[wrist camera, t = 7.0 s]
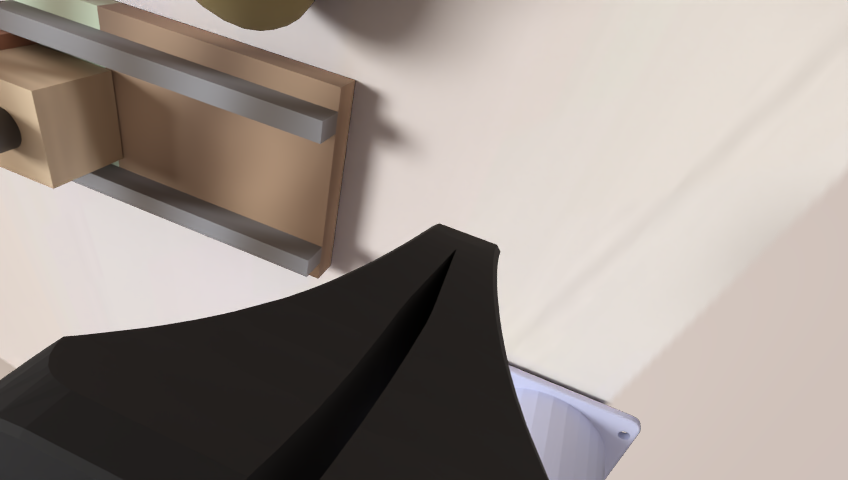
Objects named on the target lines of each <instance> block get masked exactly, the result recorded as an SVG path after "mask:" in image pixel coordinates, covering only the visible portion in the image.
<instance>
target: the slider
mask: <svg viewBox="0 0 848 480" xmlns="http://www.w3.org/2000/svg"><path fill="white" fill-rule="evenodd" d="M121 159H123V153H122V146H121V138H120V131H119V124H118V116H117V109H116V101H115V94H114V86H113V79H112V72H111V70H108V69H106V68H103V67H100V66H97V65H94V64H92V63H89V62H86V61H83V60H80V59H78V58H75V57H72V56H69V55H66V54H64V53H61V52H58V51H55V50H53V49H50V48H47V47H44V46H41V45H39V44H33V45H27V46H22V47H16V48H10V49H5V50H0V167H2V168H5V169H7V170H10V171H12V172H15V173H17V174H19V175H22V176H24V177H27V178H29V179H31V180H34V181H36V182H39V183H41V184H43V185H46V186H48V187H51V188H53V189H54V188H56V187H58V186H61V185H63V184H65V183H68V182H70V181H72V180H75V179H77V178H79V177H82V176H84V175H86V174H88V173H91V172H93V171H95V170H98V169H100V168H102V167H105V166H107V165H109V164H111V163H114V162H116V161H118V160H121Z"/></svg>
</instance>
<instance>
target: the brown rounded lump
mask: <svg viewBox="0 0 848 480" xmlns="http://www.w3.org/2000/svg"><path fill="white" fill-rule="evenodd" d="M196 1H197V2H198V3H200V4H201V5H202V6H203V7H204V8H206V9H207V10H209V11H210V12H212V13H214V14H215V15H217V16H218V17H220V18H221V19H223V20H224V21H227V22H229V23H232V24H234V25H236V26H239V27H241V28H244V29H250V30H258V31H265V30H274V29H277V28H281V27H284V26H287V25H289V24H291V23H293V22H294V21H296V20H298V19H300V17H301V16H302V15H303V14H304V13H305V12H306V11H307V9H308V8H309V7H310V6H311V5H312V3H313V2H314V1H315V0H196Z"/></svg>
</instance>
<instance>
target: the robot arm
mask: <svg viewBox="0 0 848 480" xmlns="http://www.w3.org/2000/svg"><path fill="white" fill-rule="evenodd" d="M499 254H500V250H499V248H498V246H497V245H496V244H493V243H491V242H488V241H485V240H482V239H480V238H477V237H474V236H472V235H469V234H466V233H464V232H461V231H458V230H455V229H453V228H450V227H447V226H445V225H442V224H437V225H434V226H432V227H431V228H429V229H428V230H426V231H424V232H423V233H421V234H420V235H418V236H416V237H415V238H413V239H412V240H410V241H408V242H406V243H405V244H403V245H401V246H400V247H398V248H396V249H394V250H393V251H391V252H389V253H387V254H385V255H383V256H382V257H380V258H378V259H376V260H374V261H372V262H370V263H368V264H366V265H364V266H362V267H360V268H358V269H356V270H354V271H352V272H349V273H347V274H345V275H343V276H341V277H339V278H337V279H334V280H332V281H329V282H327V283H325V284H322V285H320V286H317V287H315V288H312V289H309V290H306V291H304V292H301V293H298V294H295V295H292V296H289V297H286V298H283V299H279V300H276V301H272V302H268V303H265V304H261V305H257V306H253V307H250V308H246V309H242V310H238V311H235V312H230V313H226V314H221V315H217V316H212V317H207V318H202V319H197V320H191V321H185V322H180V323H174V324H168V325H162V326H155V327H148V328H140V329H131V330H123V331H114V332H105V333H96V334H88V335H78V336H66V337H62V338H61V339H59V340H58V341H56V342H55V343H53V344H51V345H50V346H48V347H47V348H46V349H44V350H43V351H41V352H40V353H38V354H37V355H35V356H34V357H32V358H31V359H29V360H28V361H27V362H25V363H24V364H22V365H21V366H20V367H18V368H17V369H15V370H14V371H12V372H11V373H10V374H8V375H7V376H6V377H4V378H2V379H1V380H0V480H605V479H606V478H607V476H608V475H609V473H610V472H611V471H612V469H613V468H614V467H615V465H616V464H617V462H618V461H619V460H620V458H621V457H622V456H623V454H624V453H625V452H626V450H627V449H628V448H629V446H630V445H631V444H632V442H633V441H634V439H635V438H636V437H637V435H638V434H639V433H640V429H641V426H640V421H639V420H638V419H637V418H636V417H634V416H632V415H629V414H627V413H624V412H622V411H620V410H617V409H615V408H612V407H610V406H607V405H605V404H603V403H600V402H598V401H595V400H593V399H590V398H588V397H585V396H583V395H581V394H578V393H576V392H573V391H571V390H568V389H566V388H563V387H561V386H559V385H556V384H554V383H551V382H549V381H546V380H544V379H542V378H539V377H537V376H534V375H532V374H529V373H527V372H524V371H522V370H520V369H517V368H515V367H512V366H510V365H508V360H507V356H506V351H505V346H504V341H503V336H502V330H501V323H500V315H499V305H498V295H497V266H498V258H499ZM621 431H624V432H627V433H623V432H621Z"/></svg>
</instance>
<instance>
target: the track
mask: <svg viewBox="0 0 848 480" xmlns="http://www.w3.org/2000/svg"><path fill="white" fill-rule="evenodd" d="M33 44H39V45H41V46H44V47H47V48H50V49H53V50H55V51H58V52H61V53H64V54H66V55H69V56H72V57H75V58H78V59H80V60H83V61H86V62H89V63H92V64H94V65H97V66H100V67H103V68H106V69H108V70H111V72H112V79H113V86H114V94H115V101H116V109H117V116H118V124H119V131H120V138H121V146H122V153H123V159H121V160H118V161H116V162H114V163H111V164H109V165H107V166H105V167H102V168H100V169H98V170H95V171H93V172H91V173H88V174H86V175H84V176H82V177H79V178H77V179H75V180H72V181H73V182H76V183H78V184H80V185H83V186H85V187H88V188H90V189H93V190H95V191H98V192H100V193H103V194H105V195H107V196H110V197H112V198H115V199H117V200H120V201H122V202H125V203H127V204H129V205H132V206H134V207H137V208H139V209H142V210H144V211H147V212H149V213H152V214H154V215H156V216H159V217H161V218H164V219H166V220H169V221H171V222H174V223H176V224H178V225H181V226H183V227H186V228H188V229H191V230H193V231H196V232H198V233H201V234H203V235H205V236H208V237H210V238H213V239H215V240H218V241H220V242H223V243H225V244H227V245H230V246H232V247H235V248H237V249H240V250H242V251H245V252H247V253H250V254H252V255H254V256H257V257H259V258H262V259H264V260H267V261H269V262H272V263H274V264H276V265H279V266H281V267H284V268H286V269H289V270H291V271H294V272H296V273H299V274H301V275H303V276H306V277H307V276H308V275H311V276H313V277H316V278H319V277H320V276H321V275H322V274H323V273H324V272H325V271H326V270H327V269H328V267H329V266H330V265H331V258H332V250H333V243H334V235H335V228H336V220H337V213H338V206H339V198H340V191H341V183H342V176H343V168H344V161H345V153H346V146H347V138H348V131H349V123H350V116H351V109H352V101H353V94H354V86H355V80H353V79H350V78H347V77H344V76H341V75H338V74H335V73H332V72H329V71H326V70H323V69H320V68H317V67H314V66H311V65H308V64H304V63H301V62H298V61H295V60H292V59H289V58H286V57H283V56H280V55H277V54H274V53H271V52H268V51H265V50H262V49H259V48H256V47H253V46H250V45H247V44H244V43H241V42H238V41H235V40H232V39H229V38H226V37H223V36H220V35H217V34H214V33H211V32H208V31H205V30H202V29H199V28H196V27H193V26H190V25H187V24H184V23H181V22H178V21H175V20H172V19H168V18H165V17H162V16H159V15H156V14H153V13H150V12H147V11H144V10H141V9H138V8H135V7H132V6H129V5H126V4H123V3H120V2H117V1H114V0H6V1H0V50H5V49H10V48H16V47H22V46H27V45H33Z"/></svg>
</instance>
